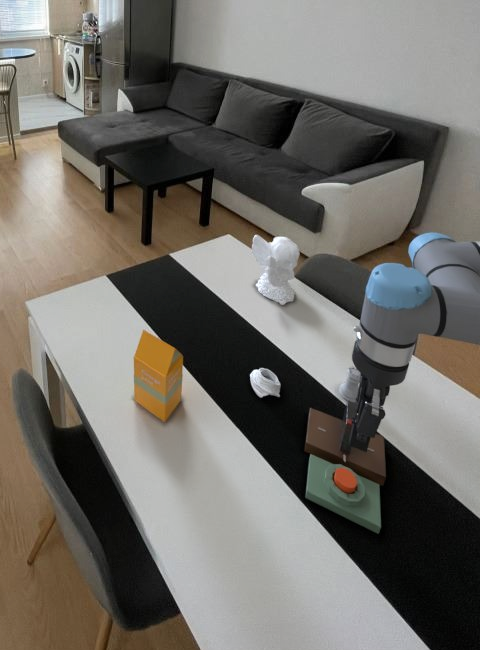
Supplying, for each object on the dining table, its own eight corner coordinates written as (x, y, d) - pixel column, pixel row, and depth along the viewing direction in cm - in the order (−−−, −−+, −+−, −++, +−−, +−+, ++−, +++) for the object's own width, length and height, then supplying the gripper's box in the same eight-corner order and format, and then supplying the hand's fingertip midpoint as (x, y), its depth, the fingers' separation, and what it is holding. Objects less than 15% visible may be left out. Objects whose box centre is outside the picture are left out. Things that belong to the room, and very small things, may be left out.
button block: (377, 491, 84) (381, 478, 82) (378, 534, 78) (383, 521, 76) (308, 460, 90) (311, 448, 88) (305, 498, 84) (308, 485, 82)
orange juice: (164, 422, 99) (166, 359, 92) (133, 400, 105) (132, 339, 97) (181, 399, 104) (184, 337, 97) (151, 379, 110) (152, 319, 103)
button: (355, 479, 83) (357, 473, 82) (355, 497, 80) (357, 491, 79) (334, 469, 85) (335, 463, 84) (333, 487, 82) (334, 481, 81)
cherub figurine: (303, 307, 130) (313, 253, 122) (262, 309, 130) (269, 255, 123) (284, 279, 142) (292, 228, 134) (247, 280, 142) (252, 230, 135)
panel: (380, 443, 92) (384, 433, 91) (383, 489, 84) (386, 479, 83) (308, 414, 99) (310, 404, 98) (304, 454, 91) (306, 444, 90)
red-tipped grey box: (340, 425, 93) (347, 398, 90) (350, 429, 92) (357, 402, 89) (339, 449, 89) (346, 423, 86) (349, 454, 88) (357, 427, 85)
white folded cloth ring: (244, 378, 110) (243, 363, 108) (268, 371, 110) (268, 356, 109) (261, 404, 102) (261, 389, 101) (287, 397, 103) (287, 382, 101)
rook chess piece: (362, 405, 100) (369, 381, 97) (340, 400, 102) (346, 376, 99) (357, 389, 104) (363, 365, 101) (336, 384, 106) (342, 361, 103)
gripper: (354, 316, 77) (335, 407, 86) (355, 371, 67) (333, 468, 76) (405, 330, 74) (380, 424, 82) (414, 391, 64) (384, 490, 72)
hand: (357, 445), depth 79 cm, fingers closed
